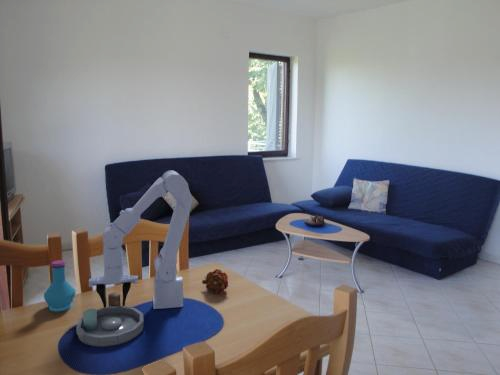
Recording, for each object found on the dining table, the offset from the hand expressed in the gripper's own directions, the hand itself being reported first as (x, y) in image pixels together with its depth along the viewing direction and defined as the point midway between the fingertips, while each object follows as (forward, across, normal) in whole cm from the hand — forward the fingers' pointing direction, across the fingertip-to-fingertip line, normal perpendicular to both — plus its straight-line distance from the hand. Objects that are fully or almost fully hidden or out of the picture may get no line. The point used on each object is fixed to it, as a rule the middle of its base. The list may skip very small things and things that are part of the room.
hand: (114, 305), depth 129 cm
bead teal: (0, +6, +12) cm, 14 cm away
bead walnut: (+1, 0, 0) cm, 1 cm away
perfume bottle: (+2, +17, -6) cm, 18 cm away
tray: (+1, 0, +12) cm, 13 cm away
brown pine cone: (+2, -34, -8) cm, 35 cm away
